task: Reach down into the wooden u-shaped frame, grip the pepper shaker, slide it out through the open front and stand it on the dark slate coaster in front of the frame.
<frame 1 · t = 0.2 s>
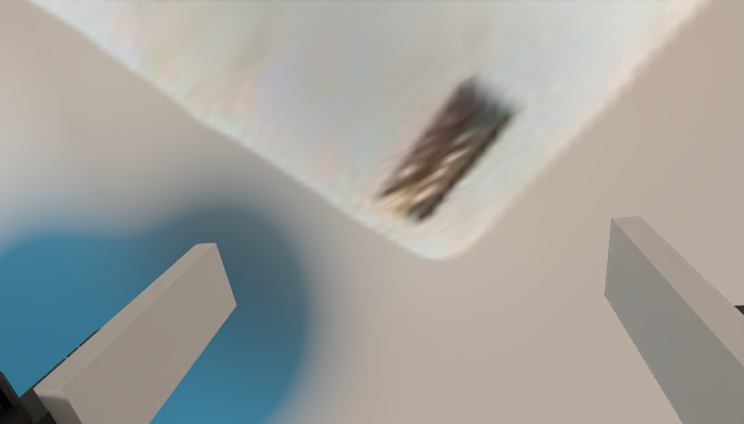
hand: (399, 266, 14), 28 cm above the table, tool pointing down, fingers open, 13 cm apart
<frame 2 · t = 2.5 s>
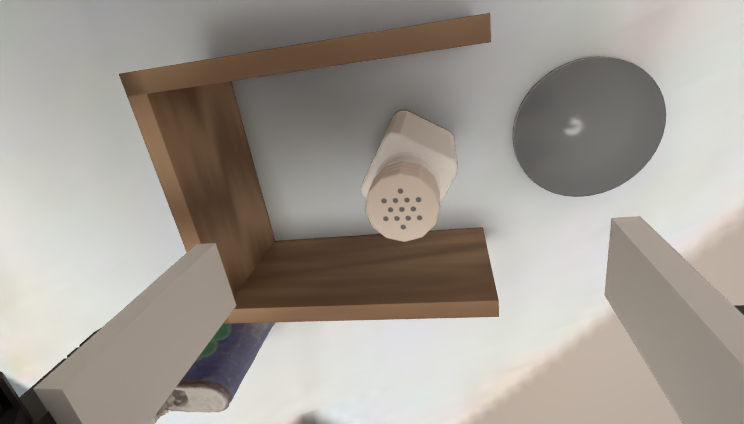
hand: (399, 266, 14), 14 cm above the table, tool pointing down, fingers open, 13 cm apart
flask: (226, 306, 34), on the table
pepper shaker: (413, 146, 26), on the table
wooden u-shaped frame: (352, 154, 27), on the table
slate coaster: (584, 129, 24), on the table
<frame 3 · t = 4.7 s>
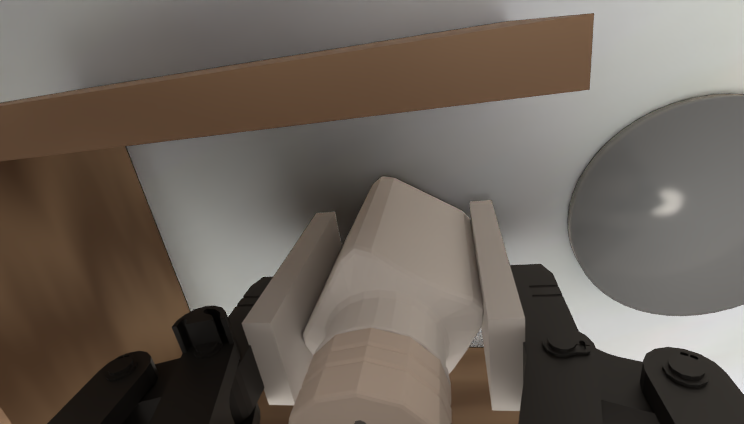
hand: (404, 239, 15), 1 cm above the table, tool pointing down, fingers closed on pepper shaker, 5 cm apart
pepper shaker: (406, 228, 16), on the table, touching gripper
wooden u-shaped frame: (310, 236, 17), on the table
slate coaster: (690, 211, 14), on the table
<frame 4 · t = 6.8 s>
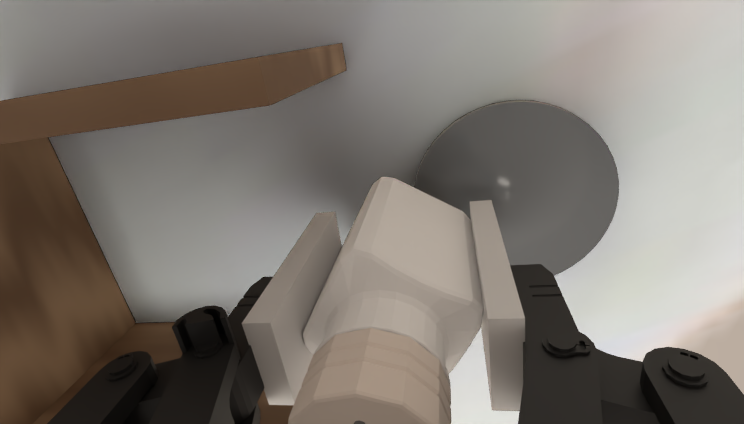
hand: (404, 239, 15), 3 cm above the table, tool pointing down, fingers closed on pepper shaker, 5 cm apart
pepper shaker: (405, 228, 16), point 2 cm above the table, touching gripper
wooden u-shaped frame: (211, 221, 20), on the table
slate coaster: (508, 197, 17), on the table
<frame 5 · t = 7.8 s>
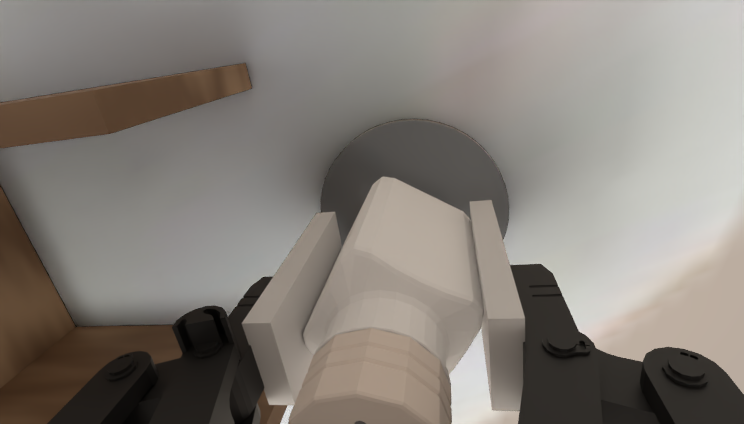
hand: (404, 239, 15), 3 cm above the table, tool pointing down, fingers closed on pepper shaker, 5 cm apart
pepper shaker: (406, 228, 16), point 2 cm above the table, touching gripper
wooden u-shaped frame: (139, 230, 21), on the table
slate coaster: (412, 210, 18), on the table
when the fingers open (2 cm above the table, at t = 8.8 s): pepper shaker stays where it is, resting on slate coaster.
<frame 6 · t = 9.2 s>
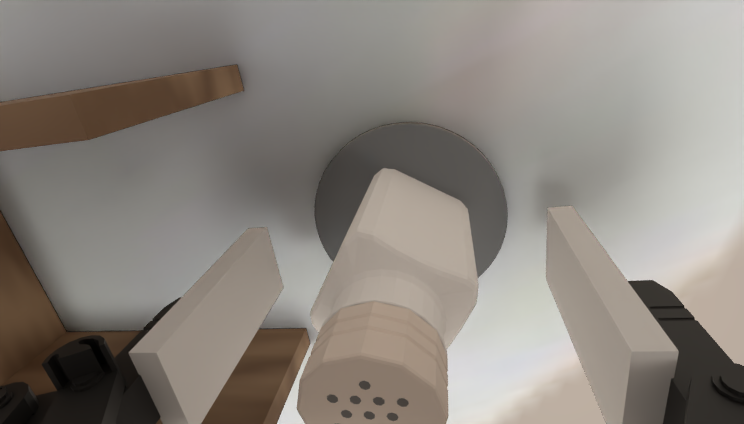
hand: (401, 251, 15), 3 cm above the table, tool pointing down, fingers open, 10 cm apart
pepper shaker: (406, 218, 17), resting on slate coaster
wooden u-shaped frame: (129, 234, 20), on the table
slate coaster: (408, 215, 18), on the table
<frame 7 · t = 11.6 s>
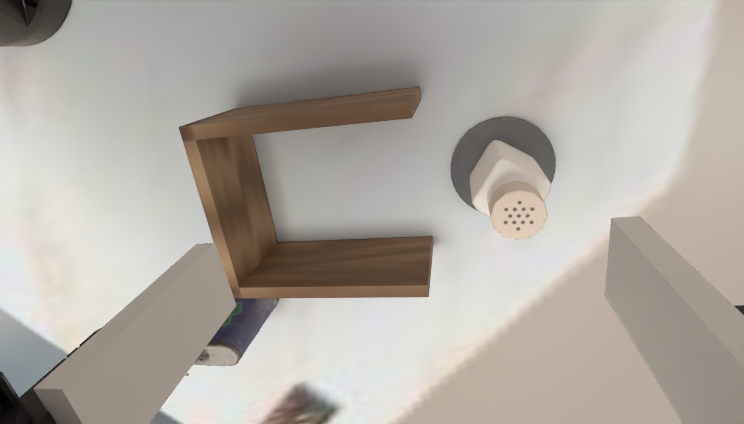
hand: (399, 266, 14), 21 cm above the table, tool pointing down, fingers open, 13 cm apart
flask: (238, 293, 44), on the table
pepper shaker: (500, 168, 33), resting on slate coaster
wooden u-shaped frame: (336, 179, 36), on the table
slate coaster: (501, 167, 33), on the table
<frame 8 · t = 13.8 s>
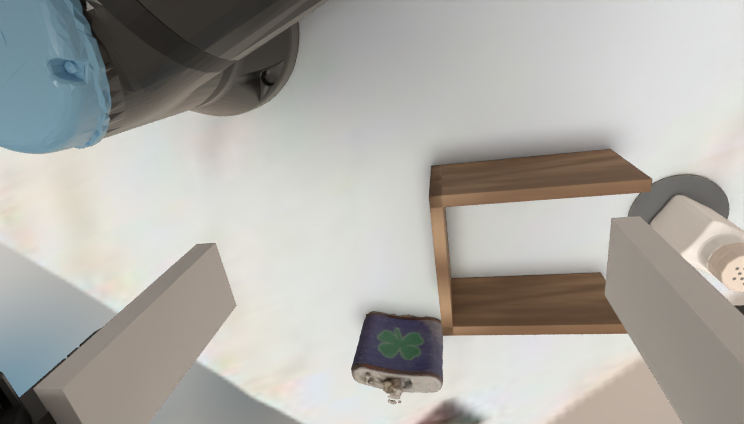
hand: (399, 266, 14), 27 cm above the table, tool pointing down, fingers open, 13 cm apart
flask: (403, 321, 48), on the table
pepper shaker: (676, 216, 38), resting on slate coaster
wooden u-shaped frame: (517, 225, 41), on the table
slate coaster: (675, 215, 38), on the table
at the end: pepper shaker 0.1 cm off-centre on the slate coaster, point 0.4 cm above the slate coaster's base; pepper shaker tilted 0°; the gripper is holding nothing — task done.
